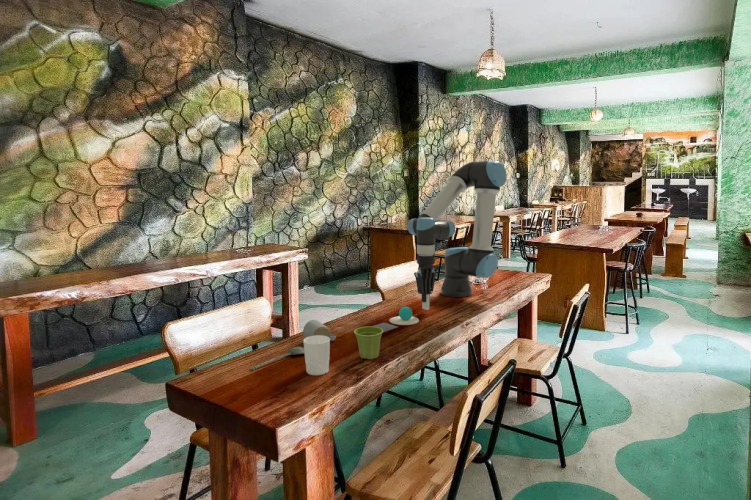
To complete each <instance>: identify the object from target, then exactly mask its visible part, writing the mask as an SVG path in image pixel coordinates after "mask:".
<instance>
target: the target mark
mask: <svg viewBox="0 0 751 500" xmlns="http://www.w3.org/2000/svg"><path fill="white" fill-rule="evenodd" d="M388 321H389V322H390V324H392V325H396V326H397V325H398V326H410V325H415V324H417V323H419V322H420V320H419V318H418V317H416V316H412V317H411V318H410V319H409V320H403V319H401V318H400V316H399V315H398V316H394V317H391V318H389V319H388Z"/></svg>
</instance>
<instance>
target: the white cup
mask: <svg viewBox="0 0 751 500" xmlns="http://www.w3.org/2000/svg"><path fill="white" fill-rule="evenodd" d="M302 343H303V348H304V353H303V355H304V361H305V370H306V373H307V374H308V375H310V376H322V375H325V373H326V374H327V373H329V369H330V351H331V349H330V348H331V345H330V344H331V340H330V338H329V337H327V336H322V335H315V336H310V337H307V338H305V337H304V339H303V341H302Z"/></svg>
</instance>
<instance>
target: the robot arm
mask: <svg viewBox="0 0 751 500" xmlns="http://www.w3.org/2000/svg"><path fill="white" fill-rule="evenodd" d="M507 178H508V177H507V171H506V168H505V166H504V164H503V163H502V162H500V161H498V160H485V161H484V160H483V161H482V160H481V161H470V162H468V163H466V164H463V165H462V166H460V168H458V169H457V170H456V171H454V173H453V174H452V175H451V176H450V177H449V178H448V183H447V184H446V185H445V186H444V187H443V188H442V189H441V190H440V192H439V193H438V194H437V195H436V196H435V198H434V199H433V200H432V201H431V202H430V203H429V204H428V206H427V207H426V208H425V209H424V210H423V211H422V213H421V214H420V215H419V216H418V218H416V217H415V218H411V219H410V220H409V221H408V223H407V231H408V233H409V234H411V235H413V236H416V254H417V255H416V264H418V265H417V266H418V268H417V271H416V272H413V276H414V278H415V282H416V283H415V284H416V288H417V293H418V294H420V295H421V309H423V310H426V311H429V310H430V302H431V301H430V298H431V297H430V296H431V295H432V294H433V292H434V288H435V282H436V274H437V271H438V269H437V268H434V264H435V263H436V262H435V261H436V259H435V258H436V255H435V254H436V253H435V252H436V240H439V239H448V238H450V237H453V236H454V235H455V233H456V226H455V225H456V224H455V222H453V221H452V220H449V219H447V220H446V219H444V220H439V219H441V217H442V216H443V215H444V213H445V212H446V211H447V210H448V208H449V207H451V205H452V204H453V202H454V201H456V199H457V198H458V197H459V196H460V194H461V193H465V191H467V189H469V188H471V187H473V190H474V191H475V192H476V202H475V203H476V204H475V211H474V212H475V213H474V222H473V233H472V242H471V245H470V246H459V247H458V246H457V247H450V248H449V247H448V248H446V249H445V251H444V280H443V283H442V285H441V289H440V291H441V292H440V293H441V295H443V296H444V297H445V296H446V297H452V298H453V297H454V298H465V297H470V296H472V295H473V288H472V285H471V282H470V279H469V276H471V277H477V278H482V279H488V278H491V277H492V276H493V275H494V274H495V273H496V271H497V269H498V265H499V259H498V257H497V255H496V254H495V252H494V251H495V250H494V248H493V247H492V239H493V238H492V237H493V228H494V227H493V226H494V219H495V208H496V199H497V198H496V197H497V194H498V193H499V192H501V191H500V190H501V187H503V186H504V185H505V184H506V182H507Z"/></svg>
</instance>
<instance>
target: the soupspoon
mask: <svg viewBox="0 0 751 500" xmlns="http://www.w3.org/2000/svg"><path fill="white" fill-rule="evenodd" d="M301 354H303V355H304V346H293V347H291V348H289V349H288V351H287V353H283V354H281V355H279V356H276V357H274V358H271V359H268V360H265V362H264V361H263V362H262V363H259V364H256V365H253V366H251V369H252V370H253V371H256V370H257V369H259V368H260V367H262V366H264V365H266V364H269V363H271V362H274V361H277V360H278V359H281V358H283V357H287V356H291V355H301Z"/></svg>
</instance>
